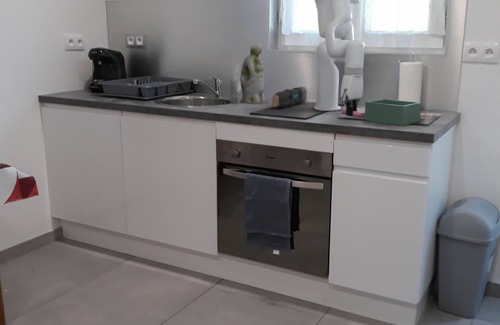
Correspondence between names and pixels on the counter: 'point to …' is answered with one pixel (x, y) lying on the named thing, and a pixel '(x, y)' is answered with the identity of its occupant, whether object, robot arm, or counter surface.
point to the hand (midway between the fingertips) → (351, 115)
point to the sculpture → (253, 77)
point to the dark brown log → (289, 97)
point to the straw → (353, 113)
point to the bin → (392, 111)
